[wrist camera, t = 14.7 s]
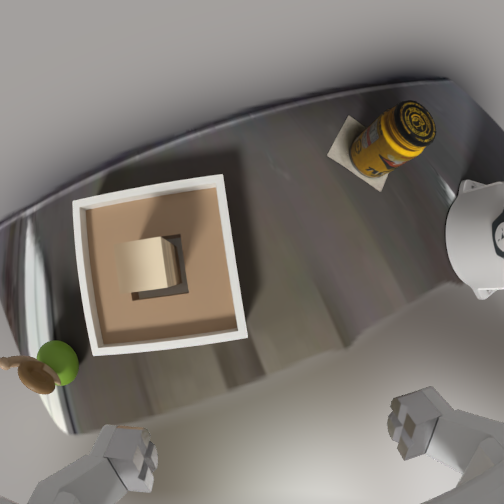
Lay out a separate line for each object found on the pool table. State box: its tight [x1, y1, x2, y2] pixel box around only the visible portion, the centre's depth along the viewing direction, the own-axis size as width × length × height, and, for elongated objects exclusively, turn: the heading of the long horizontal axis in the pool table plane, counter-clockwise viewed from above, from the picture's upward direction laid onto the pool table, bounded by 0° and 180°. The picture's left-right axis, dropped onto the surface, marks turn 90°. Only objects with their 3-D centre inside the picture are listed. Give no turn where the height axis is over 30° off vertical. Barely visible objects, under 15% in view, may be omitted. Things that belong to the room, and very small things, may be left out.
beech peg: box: [114, 237, 182, 294], centre depth 28 cm, size 4×4×10 cm
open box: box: [73, 174, 248, 356], centre depth 31 cm, size 16×16×6 cm
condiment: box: [327, 100, 436, 191], centre depth 32 cm, size 7×8×12 cm
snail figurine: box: [0, 340, 79, 394], centre depth 26 cm, size 5×6×12 cm
